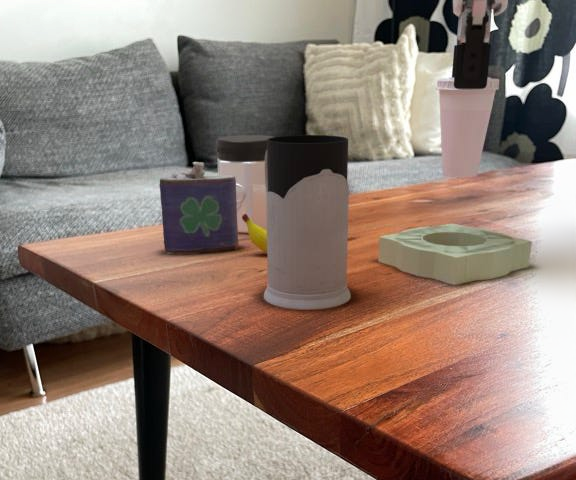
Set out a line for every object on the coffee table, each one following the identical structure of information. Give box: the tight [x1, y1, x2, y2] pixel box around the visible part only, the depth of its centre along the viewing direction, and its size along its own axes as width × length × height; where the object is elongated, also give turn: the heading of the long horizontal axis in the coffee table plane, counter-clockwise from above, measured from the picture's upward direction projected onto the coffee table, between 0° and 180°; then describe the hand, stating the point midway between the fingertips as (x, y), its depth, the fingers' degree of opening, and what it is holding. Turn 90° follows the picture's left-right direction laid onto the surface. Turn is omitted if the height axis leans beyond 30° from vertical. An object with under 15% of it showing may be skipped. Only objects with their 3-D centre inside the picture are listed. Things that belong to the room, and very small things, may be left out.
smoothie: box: [435, 76, 500, 179], centre depth 76 cm, size 6×6×14 cm
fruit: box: [242, 214, 267, 253], centre depth 86 cm, size 10×2×5 cm, turn 88°
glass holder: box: [263, 134, 352, 311], centre depth 71 cm, size 9×14×15 cm, turn 24°
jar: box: [216, 134, 273, 234], centre depth 99 cm, size 9×8×12 cm
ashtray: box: [377, 222, 533, 286], centre depth 82 cm, size 13×13×3 cm
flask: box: [158, 161, 239, 255], centre depth 87 cm, size 9×3×11 cm, turn 103°
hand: (468, 85), depth 75 cm, fingers closed on smoothie, 6 cm apart
